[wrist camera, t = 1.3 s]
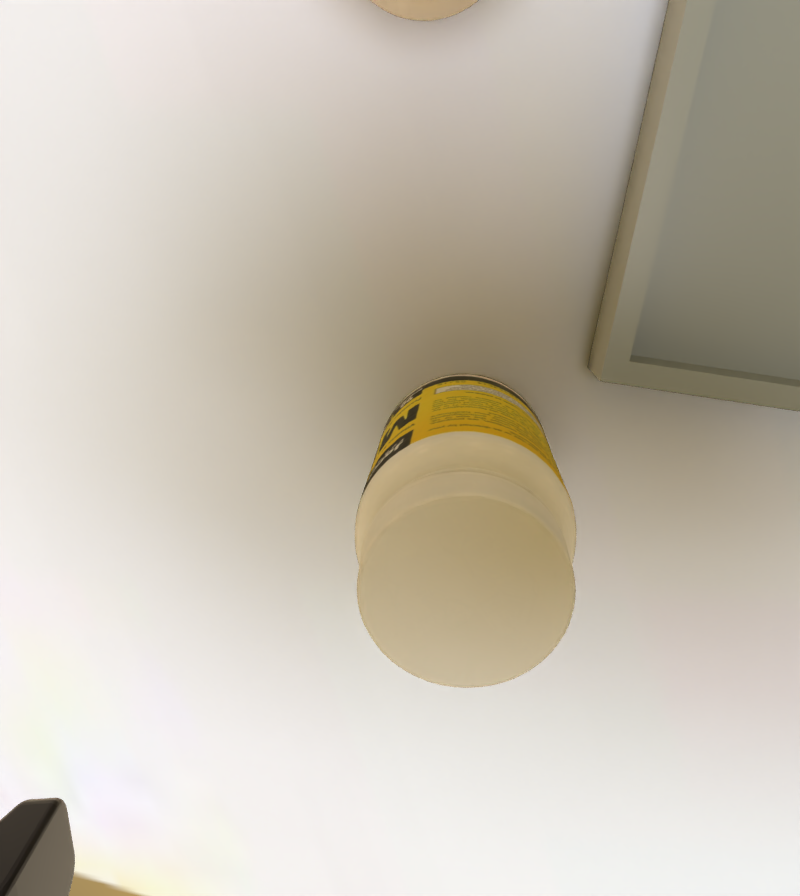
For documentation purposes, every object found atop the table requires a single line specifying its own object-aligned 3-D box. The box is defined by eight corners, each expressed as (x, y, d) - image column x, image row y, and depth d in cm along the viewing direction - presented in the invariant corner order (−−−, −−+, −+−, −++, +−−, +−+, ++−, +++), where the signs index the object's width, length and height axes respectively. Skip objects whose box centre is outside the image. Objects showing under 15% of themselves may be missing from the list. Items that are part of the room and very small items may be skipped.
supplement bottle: (399, 354, 20) (363, 442, 12) (564, 391, 20) (636, 503, 12) (366, 509, 22) (315, 677, 14) (520, 544, 22) (558, 732, 14)
